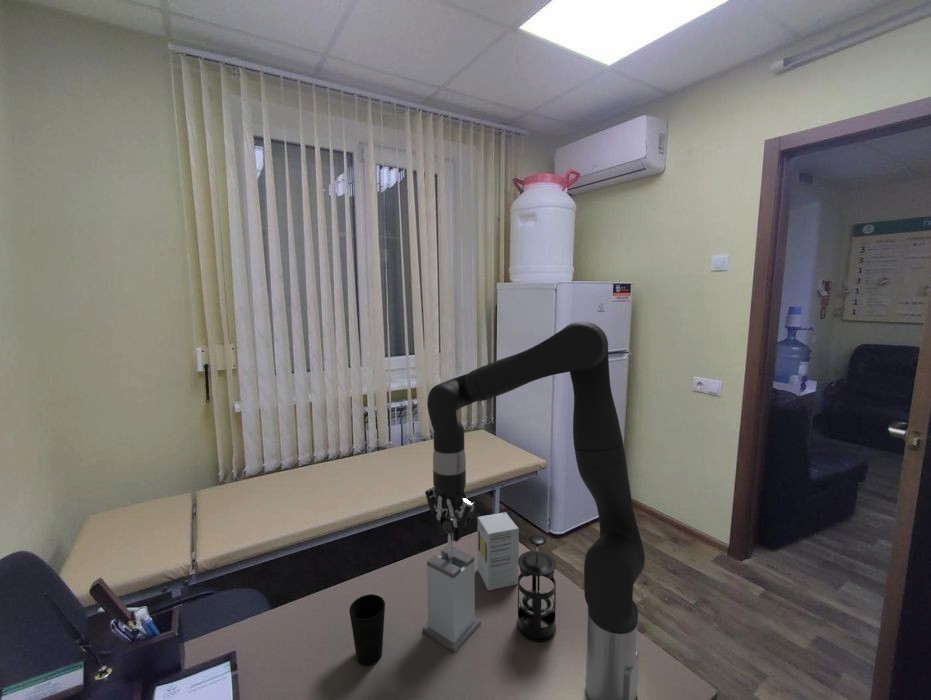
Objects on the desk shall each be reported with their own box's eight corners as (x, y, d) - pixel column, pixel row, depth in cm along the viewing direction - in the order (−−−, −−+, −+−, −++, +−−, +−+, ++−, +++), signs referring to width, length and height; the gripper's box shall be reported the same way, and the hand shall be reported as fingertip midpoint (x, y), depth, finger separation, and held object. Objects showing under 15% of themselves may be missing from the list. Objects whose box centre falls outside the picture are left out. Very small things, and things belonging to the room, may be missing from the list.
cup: (351, 674, 87) (349, 623, 86) (351, 645, 95) (349, 597, 93) (388, 665, 89) (386, 615, 88) (385, 637, 97) (383, 591, 95)
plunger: (468, 581, 99) (467, 516, 96) (452, 595, 94) (451, 527, 92) (449, 572, 102) (448, 509, 100) (433, 585, 97) (432, 519, 95)
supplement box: (476, 569, 121) (476, 516, 119) (505, 563, 123) (505, 510, 121) (488, 591, 112) (488, 533, 109) (519, 584, 114) (519, 527, 112)
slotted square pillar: (480, 624, 100) (480, 556, 98) (455, 652, 93) (454, 579, 90) (449, 606, 106) (447, 541, 104) (422, 631, 99) (420, 561, 96)
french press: (557, 646, 94) (559, 553, 91) (516, 642, 95) (517, 550, 92) (553, 608, 105) (555, 524, 102) (517, 605, 107) (517, 522, 104)
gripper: (484, 468, 93) (484, 539, 95) (436, 454, 102) (438, 520, 104) (463, 480, 87) (464, 555, 89) (415, 464, 96) (417, 533, 98)
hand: (450, 536), depth 97 cm, fingers closed on plunger, 3 cm apart
